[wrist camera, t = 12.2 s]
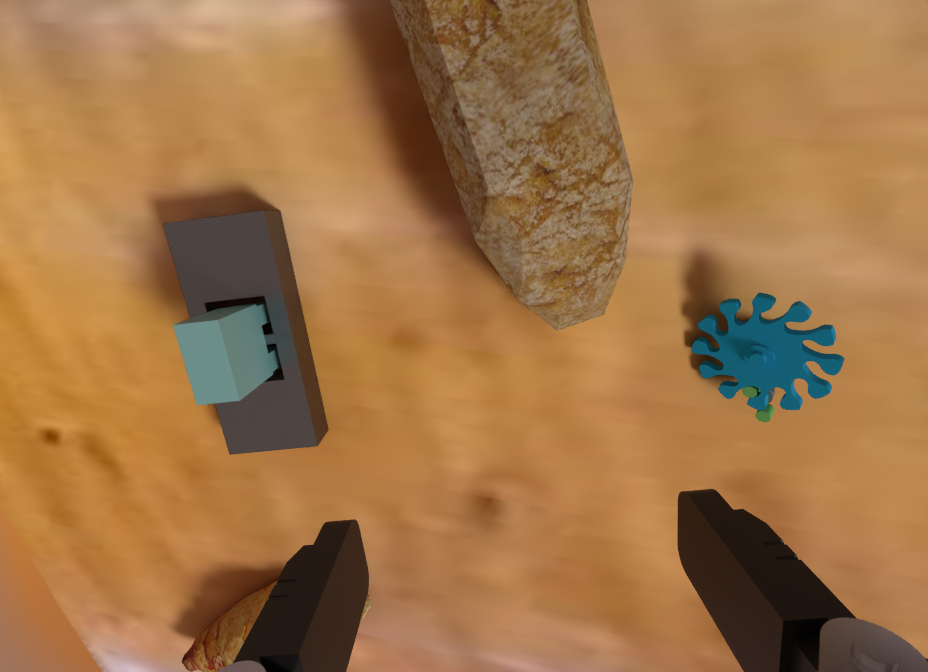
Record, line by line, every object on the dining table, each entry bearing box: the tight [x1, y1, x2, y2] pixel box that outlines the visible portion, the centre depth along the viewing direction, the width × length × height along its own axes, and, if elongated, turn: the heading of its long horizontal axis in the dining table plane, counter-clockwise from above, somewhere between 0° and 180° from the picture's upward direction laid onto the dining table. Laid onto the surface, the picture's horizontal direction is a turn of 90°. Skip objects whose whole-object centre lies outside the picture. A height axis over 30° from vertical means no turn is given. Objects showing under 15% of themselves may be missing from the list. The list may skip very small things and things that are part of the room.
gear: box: [692, 293, 845, 422], centre depth 36 cm, size 11×6×10 cm
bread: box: [389, 0, 633, 331], centre depth 29 cm, size 36×11×10 cm, turn 20°
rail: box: [163, 211, 328, 455], centre depth 38 cm, size 20×8×3 cm, turn 7°
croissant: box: [182, 580, 371, 672], centre depth 45 cm, size 21×10×8 cm, turn 112°
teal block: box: [173, 301, 281, 405], centre depth 35 cm, size 6×3×8 cm, turn 7°
